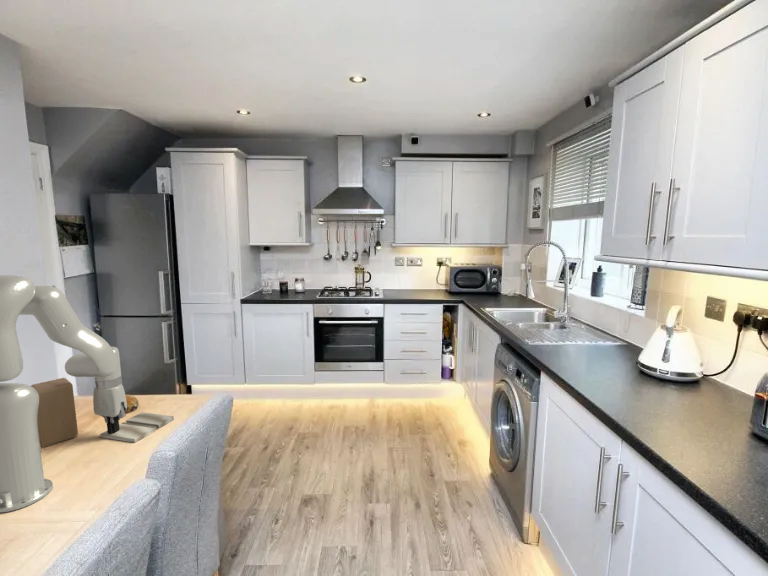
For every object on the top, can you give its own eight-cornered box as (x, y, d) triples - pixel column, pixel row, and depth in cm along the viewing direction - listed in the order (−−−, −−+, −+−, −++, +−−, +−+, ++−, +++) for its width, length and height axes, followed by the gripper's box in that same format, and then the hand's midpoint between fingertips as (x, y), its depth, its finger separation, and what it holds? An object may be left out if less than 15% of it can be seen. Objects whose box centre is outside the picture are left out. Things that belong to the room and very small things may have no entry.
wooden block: (71, 428, 141) (65, 376, 138) (79, 437, 134) (72, 382, 132) (35, 439, 133) (28, 384, 130) (41, 449, 127) (34, 391, 124)
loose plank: (134, 442, 130) (134, 438, 130) (100, 437, 134) (100, 433, 134) (156, 430, 139) (156, 426, 139) (123, 425, 142) (123, 422, 142)
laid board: (157, 429, 139) (157, 425, 139) (124, 425, 143) (124, 421, 143) (173, 419, 147) (173, 416, 146) (142, 415, 150) (141, 412, 150)
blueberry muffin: (135, 412, 162) (130, 394, 163) (144, 407, 156) (139, 388, 157) (108, 421, 154) (103, 402, 155) (117, 416, 148) (111, 396, 149)
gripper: (81, 384, 131) (86, 434, 133) (115, 388, 127) (121, 440, 129) (102, 377, 138) (107, 424, 140) (135, 380, 134) (140, 429, 137)
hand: (113, 432), depth 135 cm, fingers closed
